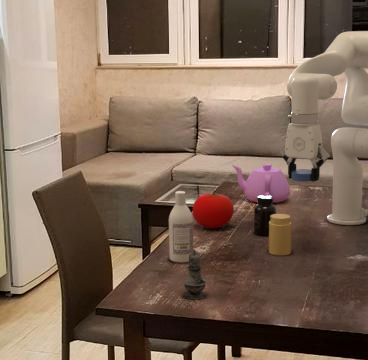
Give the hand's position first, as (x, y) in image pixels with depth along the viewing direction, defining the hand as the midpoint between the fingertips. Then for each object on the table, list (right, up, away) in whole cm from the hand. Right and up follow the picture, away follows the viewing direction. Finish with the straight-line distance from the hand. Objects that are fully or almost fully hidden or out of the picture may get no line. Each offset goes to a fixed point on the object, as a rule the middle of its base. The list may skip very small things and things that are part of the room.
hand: (303, 178), depth 219 cm
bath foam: (-36, -24, -4) cm, 43 cm away
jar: (-7, -22, 0) cm, 23 cm away
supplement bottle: (-8, -18, +20) cm, 28 cm away
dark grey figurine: (-35, -29, -33) cm, 56 cm away
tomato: (-23, -16, +29) cm, 41 cm away
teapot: (-1, -8, +64) cm, 65 cm away
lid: (0, +2, 0) cm, 2 cm away
